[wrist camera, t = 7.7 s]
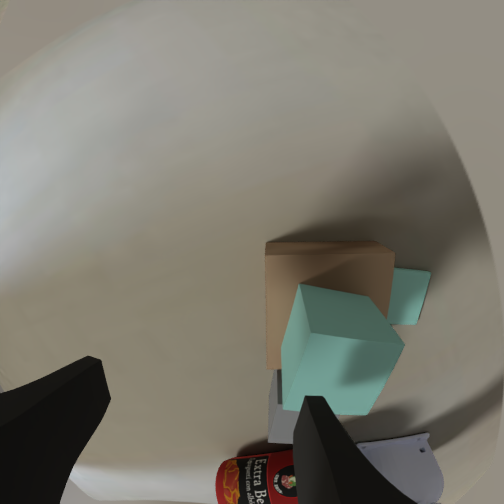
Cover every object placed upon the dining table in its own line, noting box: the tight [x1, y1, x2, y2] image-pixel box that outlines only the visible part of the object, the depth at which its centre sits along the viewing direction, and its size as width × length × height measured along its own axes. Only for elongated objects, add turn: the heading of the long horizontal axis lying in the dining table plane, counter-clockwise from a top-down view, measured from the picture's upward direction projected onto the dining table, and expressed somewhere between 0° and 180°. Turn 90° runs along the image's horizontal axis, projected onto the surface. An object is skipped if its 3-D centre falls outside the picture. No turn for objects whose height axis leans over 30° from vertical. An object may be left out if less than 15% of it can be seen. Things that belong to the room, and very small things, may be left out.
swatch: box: [387, 267, 431, 325], centre depth 17 cm, size 4×4×1 cm
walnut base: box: [265, 241, 395, 369], centre depth 16 cm, size 7×7×4 cm
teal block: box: [281, 284, 405, 415], centre depth 12 cm, size 4×4×5 cm
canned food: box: [216, 449, 298, 504], centre depth 18 cm, size 8×8×11 cm
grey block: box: [268, 369, 340, 444], centre depth 17 cm, size 4×4×5 cm
